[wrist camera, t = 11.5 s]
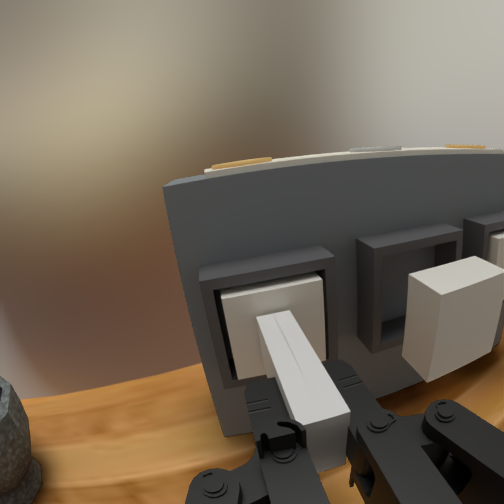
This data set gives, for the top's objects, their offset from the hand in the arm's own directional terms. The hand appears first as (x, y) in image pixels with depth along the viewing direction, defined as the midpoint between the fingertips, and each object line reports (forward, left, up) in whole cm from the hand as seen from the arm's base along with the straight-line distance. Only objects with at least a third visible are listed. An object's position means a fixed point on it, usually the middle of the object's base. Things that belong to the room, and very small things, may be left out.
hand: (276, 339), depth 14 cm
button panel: (-8, -5, -9) cm, 13 cm away
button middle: (-8, +2, -2) cm, 9 cm away
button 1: (0, -2, -2) cm, 3 cm away
